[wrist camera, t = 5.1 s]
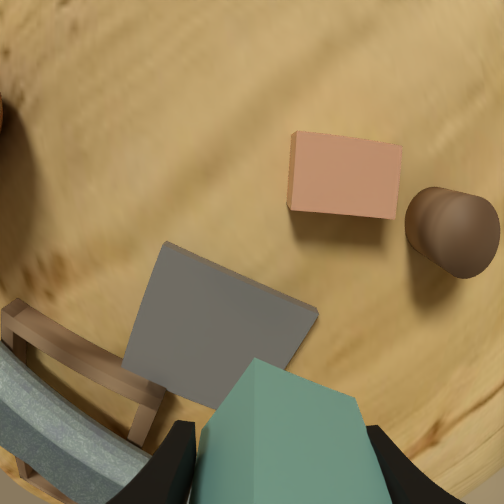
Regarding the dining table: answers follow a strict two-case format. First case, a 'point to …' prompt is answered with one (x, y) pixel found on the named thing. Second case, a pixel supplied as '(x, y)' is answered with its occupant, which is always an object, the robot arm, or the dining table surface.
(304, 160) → the terracotta box
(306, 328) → the slate coaster
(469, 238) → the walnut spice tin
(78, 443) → the aluminum foil
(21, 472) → the brown wooden frame
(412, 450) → the dining table surface
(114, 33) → the dining table surface
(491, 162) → the dining table surface
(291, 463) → the teal block
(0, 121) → the onion
